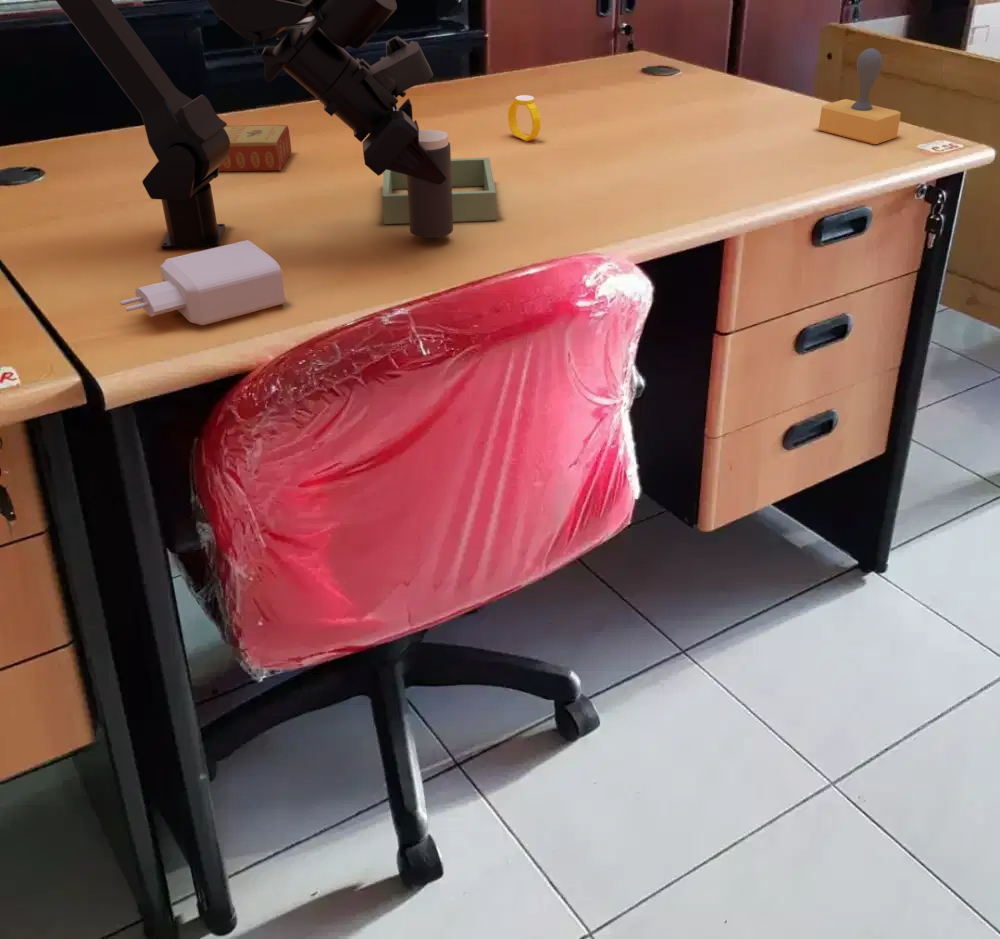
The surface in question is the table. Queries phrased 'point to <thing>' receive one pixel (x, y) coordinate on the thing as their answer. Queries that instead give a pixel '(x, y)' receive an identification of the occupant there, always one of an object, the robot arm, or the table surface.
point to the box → (463, 202)
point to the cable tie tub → (432, 191)
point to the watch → (535, 116)
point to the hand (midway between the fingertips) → (441, 173)
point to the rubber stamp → (861, 108)
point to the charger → (214, 284)
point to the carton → (257, 147)
